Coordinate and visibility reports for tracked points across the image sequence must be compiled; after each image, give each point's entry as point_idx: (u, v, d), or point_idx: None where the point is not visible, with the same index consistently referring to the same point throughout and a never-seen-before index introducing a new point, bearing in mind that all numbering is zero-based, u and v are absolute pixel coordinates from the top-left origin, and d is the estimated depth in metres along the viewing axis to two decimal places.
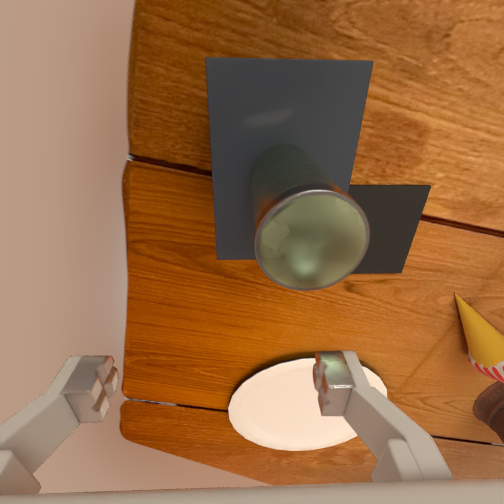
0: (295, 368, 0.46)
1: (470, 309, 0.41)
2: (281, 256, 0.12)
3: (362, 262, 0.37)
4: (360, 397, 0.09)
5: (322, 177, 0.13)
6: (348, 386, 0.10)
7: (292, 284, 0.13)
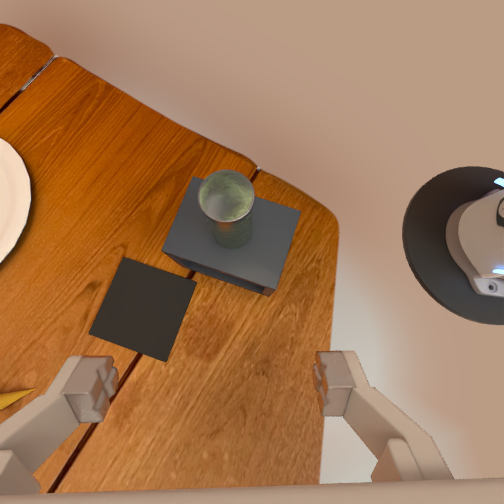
0: (16, 213, 0.44)
1: (7, 403, 0.38)
2: (225, 180, 0.24)
3: (116, 300, 0.42)
4: (360, 397, 0.09)
5: (248, 219, 0.26)
6: (348, 386, 0.10)
7: (206, 181, 0.24)
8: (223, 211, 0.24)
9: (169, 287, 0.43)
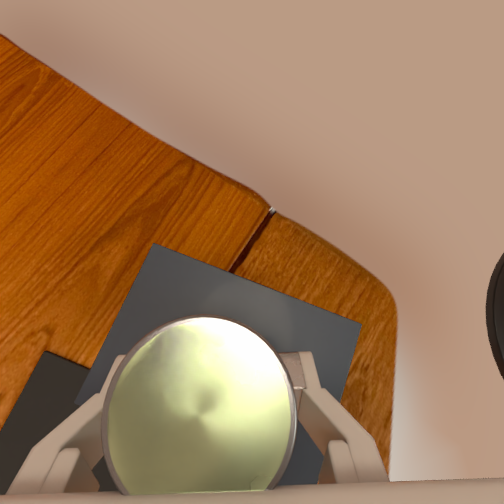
0: None
1: None
2: (201, 356, 0.07)
3: (23, 430, 0.25)
4: (309, 398, 0.09)
5: None
6: (299, 387, 0.10)
7: (137, 358, 0.07)
8: (186, 485, 0.07)
9: None
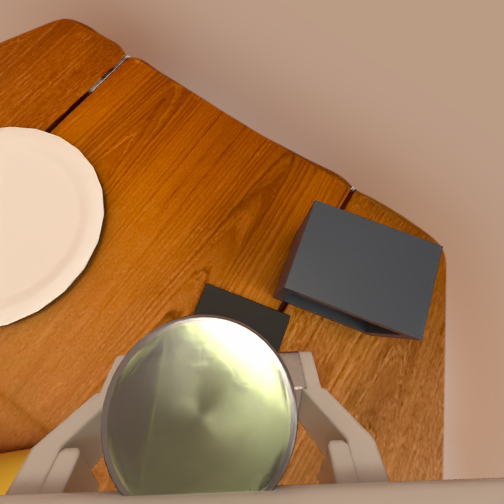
0: (87, 229, 0.38)
1: None
2: (201, 356, 0.07)
3: None
4: (309, 398, 0.09)
5: None
6: (299, 387, 0.10)
7: (137, 358, 0.07)
8: (185, 485, 0.07)
9: (260, 321, 0.37)
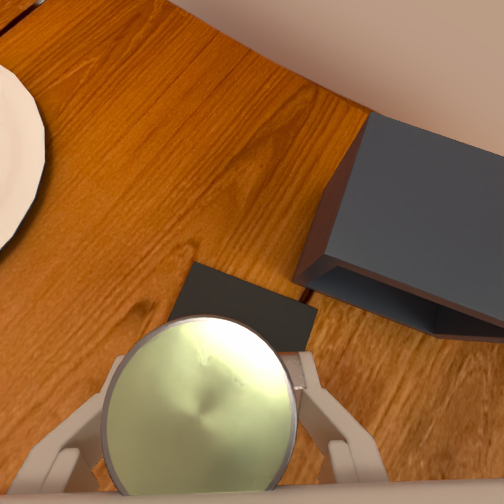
0: (19, 181, 0.26)
1: None
2: (201, 356, 0.07)
3: None
4: (309, 398, 0.09)
5: None
6: (299, 387, 0.10)
7: (137, 358, 0.07)
8: (185, 485, 0.07)
9: (273, 316, 0.25)
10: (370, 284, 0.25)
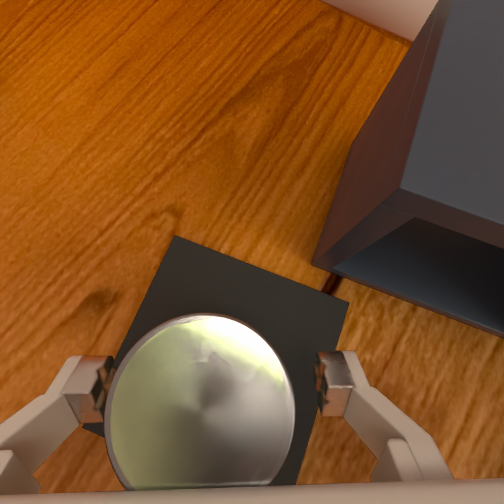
0: None
1: None
2: (202, 353, 0.07)
3: None
4: (360, 397, 0.09)
5: None
6: (348, 386, 0.10)
7: (139, 355, 0.07)
8: (186, 478, 0.07)
9: (285, 313, 0.18)
10: (423, 267, 0.18)
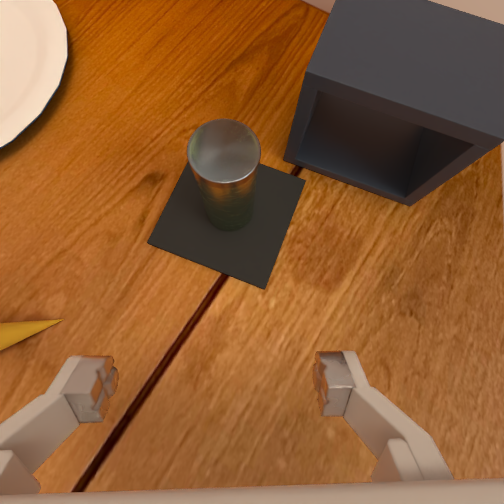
0: (45, 70, 0.30)
1: (18, 336, 0.24)
2: (224, 131, 0.19)
3: (188, 197, 0.28)
4: (360, 397, 0.09)
5: (250, 187, 0.20)
6: (348, 386, 0.10)
7: (199, 131, 0.19)
8: (219, 169, 0.18)
9: (266, 185, 0.29)
10: (351, 159, 0.29)
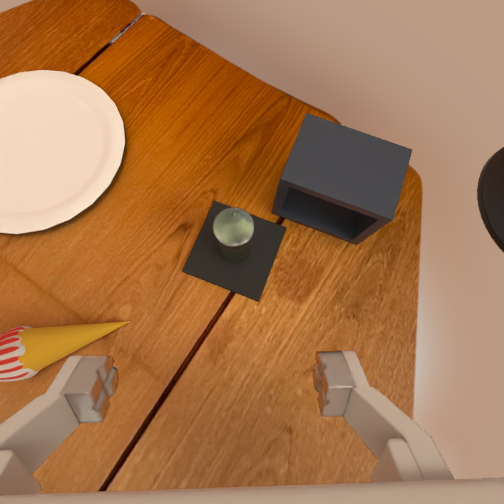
0: (111, 153, 0.44)
1: (106, 331, 0.38)
2: (233, 215, 0.33)
3: (208, 240, 0.43)
4: (360, 397, 0.09)
5: (248, 244, 0.35)
6: (348, 386, 0.10)
7: (219, 215, 0.33)
8: (231, 238, 0.33)
9: (260, 231, 0.43)
10: (317, 213, 0.44)
